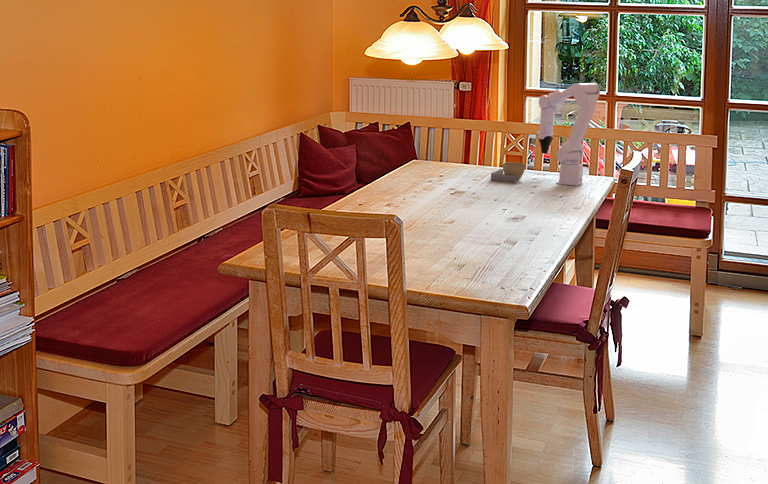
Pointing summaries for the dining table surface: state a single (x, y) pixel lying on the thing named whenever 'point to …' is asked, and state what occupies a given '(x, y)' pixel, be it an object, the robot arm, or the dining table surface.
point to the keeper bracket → (502, 177)
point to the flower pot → (514, 169)
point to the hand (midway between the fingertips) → (544, 153)
